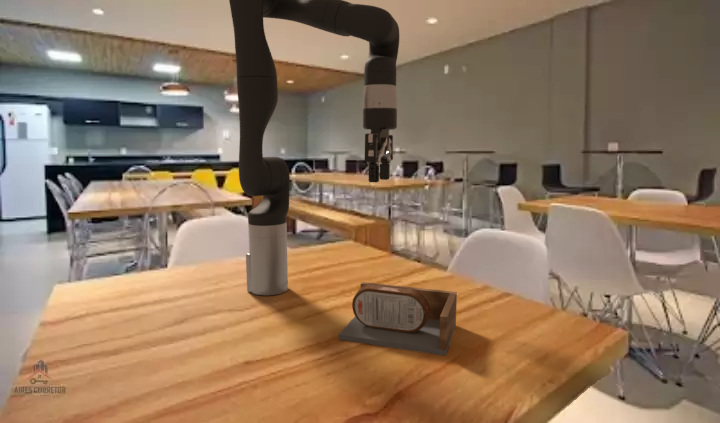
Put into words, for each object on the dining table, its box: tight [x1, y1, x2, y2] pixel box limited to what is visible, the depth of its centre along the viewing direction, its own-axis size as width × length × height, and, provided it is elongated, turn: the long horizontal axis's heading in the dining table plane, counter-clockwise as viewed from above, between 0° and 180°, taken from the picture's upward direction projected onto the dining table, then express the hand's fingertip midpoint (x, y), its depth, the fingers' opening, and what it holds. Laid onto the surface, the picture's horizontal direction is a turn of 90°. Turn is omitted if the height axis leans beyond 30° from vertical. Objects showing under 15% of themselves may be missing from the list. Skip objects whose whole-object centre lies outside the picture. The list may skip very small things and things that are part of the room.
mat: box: [337, 316, 457, 357], centre depth 86 cm, size 20×14×1 cm
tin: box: [351, 283, 430, 333], centre depth 85 cm, size 15×3×8 cm, turn 71°
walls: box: [360, 281, 458, 350], centre depth 86 cm, size 20×14×6 cm
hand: (379, 180), depth 100 cm, fingers open, 8 cm apart
